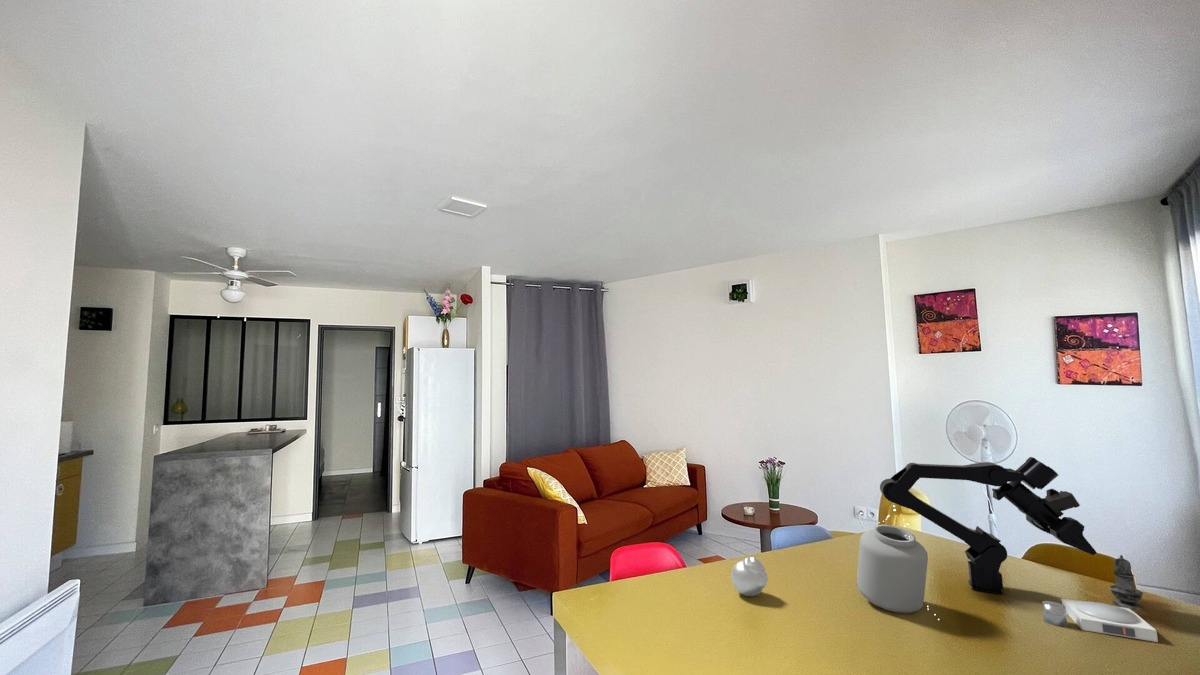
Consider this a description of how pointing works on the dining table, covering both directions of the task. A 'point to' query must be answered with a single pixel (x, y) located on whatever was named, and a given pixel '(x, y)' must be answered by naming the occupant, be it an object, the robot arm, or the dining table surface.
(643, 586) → the dining table surface
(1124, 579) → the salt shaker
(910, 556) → the jar
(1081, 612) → the scale
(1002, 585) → the robot arm
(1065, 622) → the spacer
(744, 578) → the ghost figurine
